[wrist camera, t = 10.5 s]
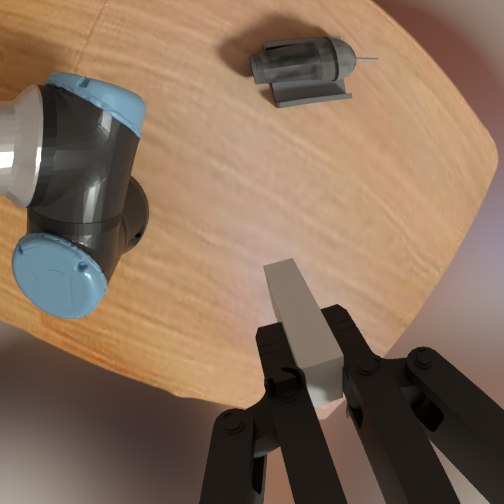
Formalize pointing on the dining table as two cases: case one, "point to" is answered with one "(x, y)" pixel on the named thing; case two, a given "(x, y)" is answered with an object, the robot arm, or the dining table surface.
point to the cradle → (304, 83)
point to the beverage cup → (306, 62)
